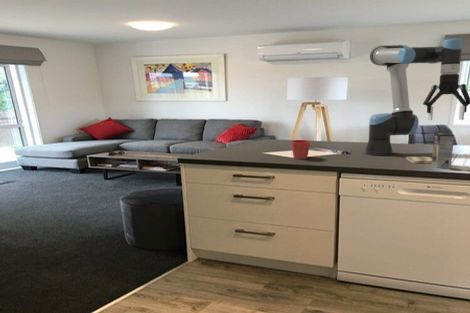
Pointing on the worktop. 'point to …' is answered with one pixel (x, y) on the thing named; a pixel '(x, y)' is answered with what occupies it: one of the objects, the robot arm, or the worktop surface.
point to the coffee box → (442, 150)
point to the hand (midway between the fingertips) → (445, 119)
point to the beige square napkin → (419, 159)
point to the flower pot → (300, 148)
